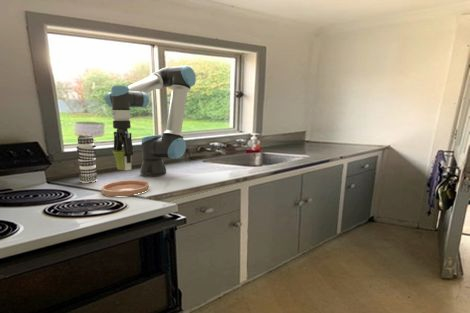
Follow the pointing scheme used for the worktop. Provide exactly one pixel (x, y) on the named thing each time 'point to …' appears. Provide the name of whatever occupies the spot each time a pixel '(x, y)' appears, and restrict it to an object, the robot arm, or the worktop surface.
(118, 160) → the plant pot
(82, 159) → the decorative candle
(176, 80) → the robot arm
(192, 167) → the worktop surface
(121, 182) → the saucer
